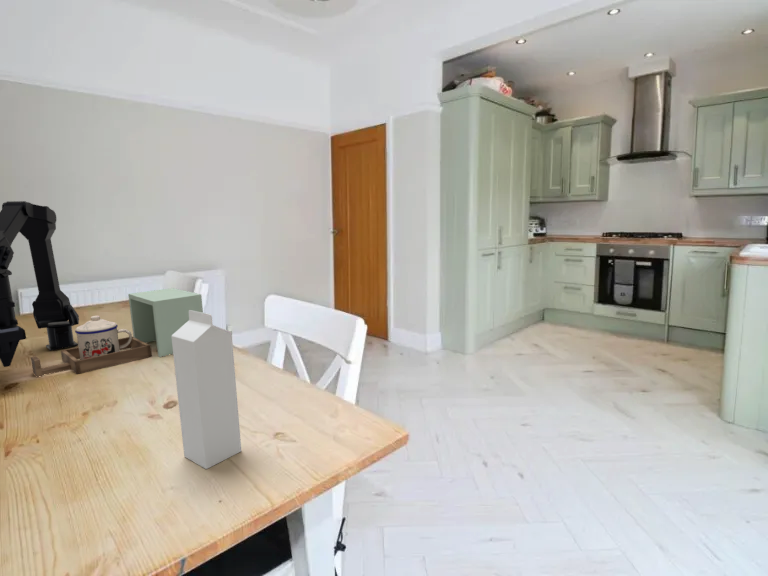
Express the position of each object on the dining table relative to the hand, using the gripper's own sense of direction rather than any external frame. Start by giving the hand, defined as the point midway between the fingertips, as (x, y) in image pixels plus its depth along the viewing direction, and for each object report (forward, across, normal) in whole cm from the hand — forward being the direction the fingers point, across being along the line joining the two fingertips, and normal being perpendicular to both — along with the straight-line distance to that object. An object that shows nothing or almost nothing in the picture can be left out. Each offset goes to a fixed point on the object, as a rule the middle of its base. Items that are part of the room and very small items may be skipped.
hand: (6, 366), depth 98 cm
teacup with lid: (+4, 0, +20) cm, 20 cm away
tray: (+3, 0, +16) cm, 17 cm away
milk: (+4, +66, +16) cm, 68 cm away
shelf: (+4, 0, +35) cm, 35 cm away
